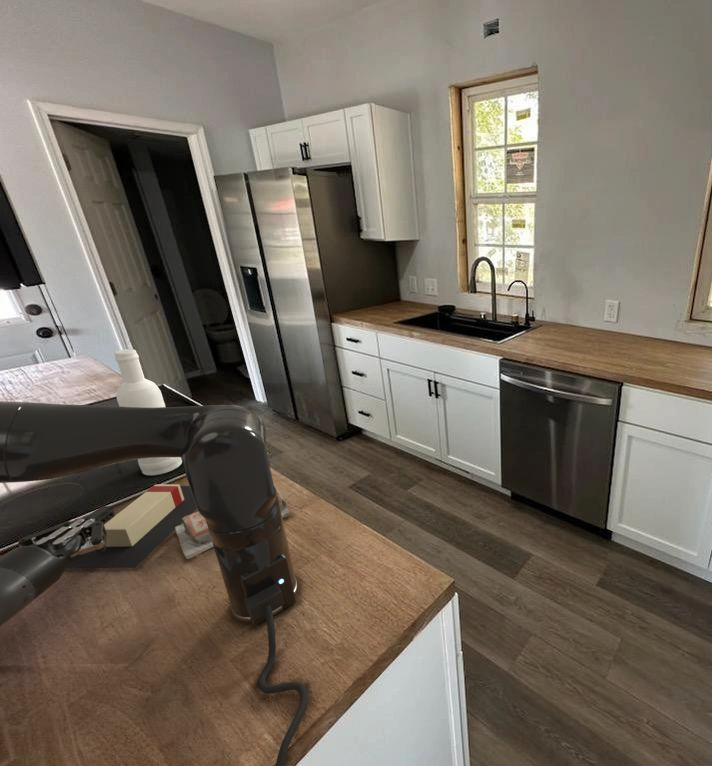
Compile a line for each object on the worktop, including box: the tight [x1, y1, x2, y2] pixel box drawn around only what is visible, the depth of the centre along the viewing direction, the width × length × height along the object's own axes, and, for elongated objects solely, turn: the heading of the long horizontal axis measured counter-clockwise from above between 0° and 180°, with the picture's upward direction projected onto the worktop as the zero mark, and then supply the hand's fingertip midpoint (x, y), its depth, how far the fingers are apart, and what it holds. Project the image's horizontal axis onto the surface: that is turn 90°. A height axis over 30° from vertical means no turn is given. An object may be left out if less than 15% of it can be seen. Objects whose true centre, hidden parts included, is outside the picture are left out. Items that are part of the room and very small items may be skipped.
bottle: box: [113, 348, 183, 476], centre depth 96 cm, size 8×8×30 cm
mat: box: [65, 485, 198, 569], centre depth 83 cm, size 24×14×1 cm, turn 2°
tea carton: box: [104, 483, 184, 547], centre depth 82 cm, size 4×5×14 cm
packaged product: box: [174, 484, 292, 560], centre depth 83 cm, size 18×5×10 cm
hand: (109, 510), depth 75 cm, fingers closed
